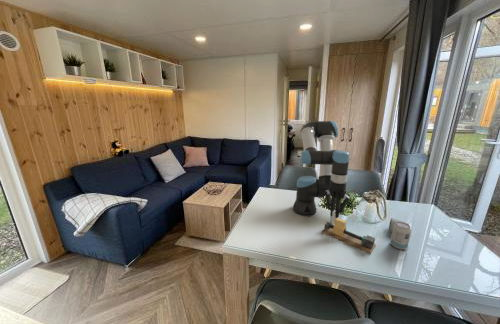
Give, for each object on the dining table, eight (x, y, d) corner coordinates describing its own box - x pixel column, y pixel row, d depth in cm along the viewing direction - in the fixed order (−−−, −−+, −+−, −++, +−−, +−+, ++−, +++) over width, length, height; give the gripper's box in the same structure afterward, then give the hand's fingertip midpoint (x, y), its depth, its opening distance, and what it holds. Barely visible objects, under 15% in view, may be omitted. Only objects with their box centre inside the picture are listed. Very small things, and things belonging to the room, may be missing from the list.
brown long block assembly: (322, 232, 112) (322, 223, 110) (328, 226, 117) (329, 218, 116) (370, 254, 95) (372, 244, 94) (375, 246, 101) (377, 236, 99)
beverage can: (405, 243, 102) (409, 222, 99) (408, 252, 96) (413, 230, 93) (388, 240, 105) (392, 219, 102) (391, 248, 99) (395, 227, 96)
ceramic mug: (407, 239, 105) (410, 226, 103) (388, 234, 110) (390, 221, 108) (405, 229, 114) (408, 217, 112) (388, 224, 118) (390, 213, 116)
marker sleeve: (332, 232, 109) (334, 220, 107) (336, 229, 112) (337, 216, 110) (342, 237, 106) (343, 223, 103) (345, 233, 109) (347, 220, 106)
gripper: (322, 179, 105) (319, 220, 111) (348, 186, 96) (343, 230, 102) (329, 176, 110) (325, 215, 116) (354, 182, 101) (349, 224, 107)
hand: (333, 222), depth 109 cm, fingers closed
